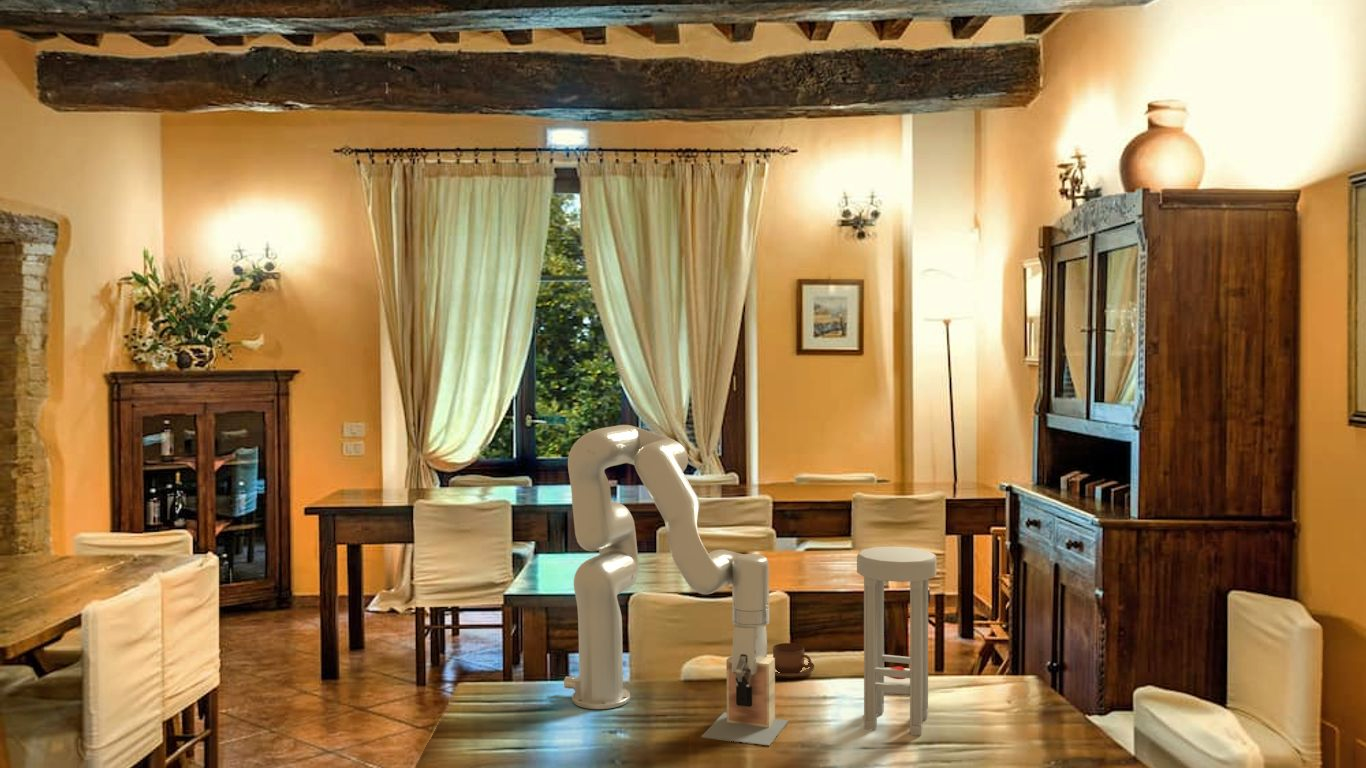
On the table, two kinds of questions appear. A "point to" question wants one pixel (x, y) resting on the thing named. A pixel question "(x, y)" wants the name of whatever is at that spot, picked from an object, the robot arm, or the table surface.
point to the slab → (753, 696)
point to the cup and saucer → (791, 660)
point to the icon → (897, 681)
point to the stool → (876, 570)
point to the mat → (744, 731)
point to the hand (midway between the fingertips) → (751, 697)
